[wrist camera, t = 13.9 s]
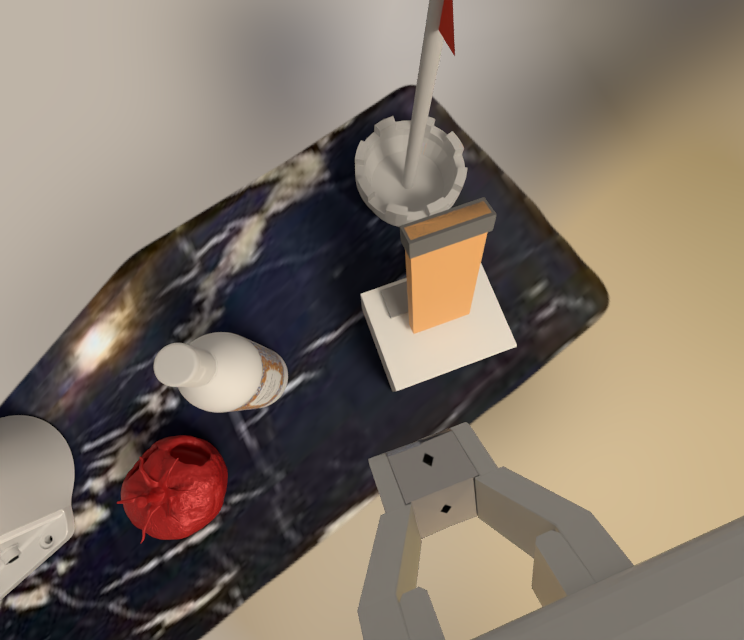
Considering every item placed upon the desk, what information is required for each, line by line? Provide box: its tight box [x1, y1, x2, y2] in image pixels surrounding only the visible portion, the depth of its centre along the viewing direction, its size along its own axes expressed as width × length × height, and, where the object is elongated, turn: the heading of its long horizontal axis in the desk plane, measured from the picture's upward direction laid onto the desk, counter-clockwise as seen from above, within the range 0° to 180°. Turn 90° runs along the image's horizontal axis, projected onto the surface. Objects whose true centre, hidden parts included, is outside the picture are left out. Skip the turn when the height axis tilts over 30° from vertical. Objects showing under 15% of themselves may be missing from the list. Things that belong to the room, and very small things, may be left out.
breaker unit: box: [361, 263, 517, 392], centre depth 43 cm, size 10×13×8 cm
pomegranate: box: [117, 435, 228, 543], centre depth 39 cm, size 10×10×9 cm
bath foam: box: [154, 332, 288, 413], centre depth 35 cm, size 7×7×20 cm
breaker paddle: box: [400, 197, 496, 334], centre depth 33 cm, size 2×6×14 cm, turn 109°
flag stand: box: [355, 0, 467, 227], centre depth 35 cm, size 13×13×30 cm
